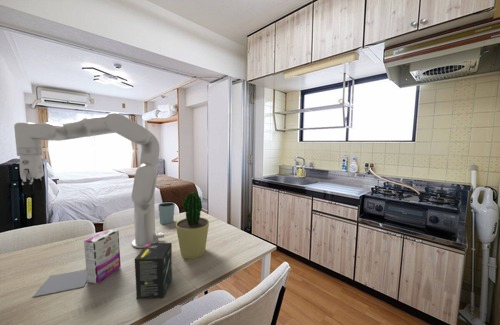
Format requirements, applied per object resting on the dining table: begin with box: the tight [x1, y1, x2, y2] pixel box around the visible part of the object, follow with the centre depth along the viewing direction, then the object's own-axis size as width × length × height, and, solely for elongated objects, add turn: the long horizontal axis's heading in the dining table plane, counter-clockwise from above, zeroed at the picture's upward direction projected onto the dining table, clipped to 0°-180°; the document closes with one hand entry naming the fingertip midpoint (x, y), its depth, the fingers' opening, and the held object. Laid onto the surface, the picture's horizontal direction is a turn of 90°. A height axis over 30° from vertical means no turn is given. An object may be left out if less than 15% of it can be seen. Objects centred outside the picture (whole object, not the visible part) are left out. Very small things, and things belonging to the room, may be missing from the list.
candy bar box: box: [83, 228, 121, 284], centre depth 82 cm, size 11×5×16 cm, turn 168°
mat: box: [32, 269, 88, 298], centre depth 78 cm, size 14×12×1 cm
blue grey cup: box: [157, 201, 176, 225], centre depth 139 cm, size 10×10×12 cm
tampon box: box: [134, 242, 173, 300], centre depth 75 cm, size 11×9×15 cm
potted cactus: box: [175, 191, 210, 259], centre depth 100 cm, size 15×15×30 cm
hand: (33, 191), depth 90 cm, fingers open, 9 cm apart
